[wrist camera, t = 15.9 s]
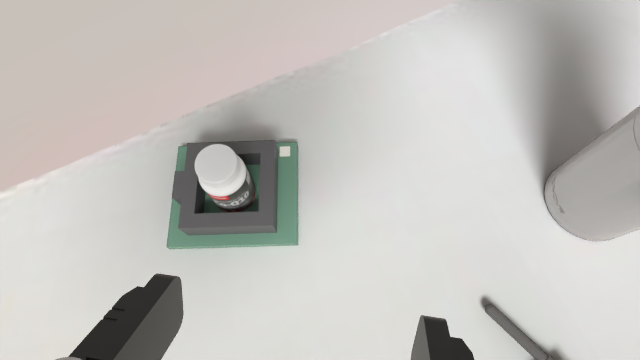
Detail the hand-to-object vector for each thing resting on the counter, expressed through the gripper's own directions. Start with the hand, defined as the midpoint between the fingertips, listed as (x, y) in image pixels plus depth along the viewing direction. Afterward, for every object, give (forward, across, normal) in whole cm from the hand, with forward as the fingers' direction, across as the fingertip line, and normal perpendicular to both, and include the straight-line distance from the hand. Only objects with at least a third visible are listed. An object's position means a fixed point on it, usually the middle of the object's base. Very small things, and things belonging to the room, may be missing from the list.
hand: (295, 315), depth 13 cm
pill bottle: (+29, +12, +11) cm, 33 cm away
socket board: (+29, +12, +11) cm, 33 cm away
